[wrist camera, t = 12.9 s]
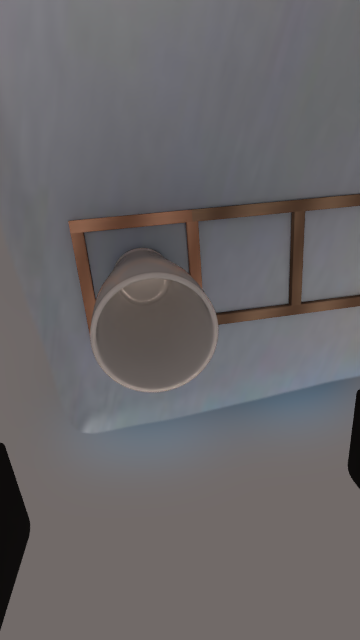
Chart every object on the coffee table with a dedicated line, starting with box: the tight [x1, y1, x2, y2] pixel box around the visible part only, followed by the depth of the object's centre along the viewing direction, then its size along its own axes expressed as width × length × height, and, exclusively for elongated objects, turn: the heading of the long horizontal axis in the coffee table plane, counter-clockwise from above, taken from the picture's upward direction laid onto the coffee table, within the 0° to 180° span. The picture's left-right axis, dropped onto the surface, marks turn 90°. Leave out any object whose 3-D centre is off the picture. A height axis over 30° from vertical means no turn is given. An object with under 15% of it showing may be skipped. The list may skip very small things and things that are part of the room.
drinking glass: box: [90, 248, 219, 392], centre depth 24 cm, size 7×7×15 cm
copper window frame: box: [68, 194, 360, 333], centre depth 32 cm, size 31×11×1 cm, turn 95°
